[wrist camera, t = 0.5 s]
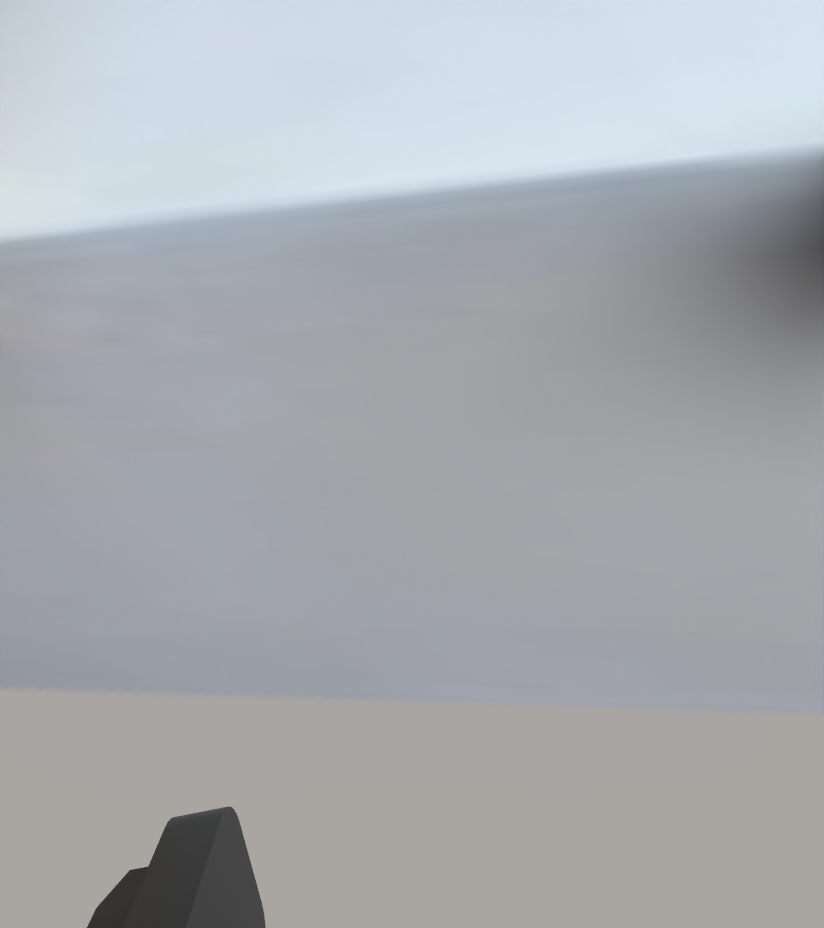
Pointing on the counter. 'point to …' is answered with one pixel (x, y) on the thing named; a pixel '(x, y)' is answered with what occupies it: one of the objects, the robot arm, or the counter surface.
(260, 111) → the counter surface
